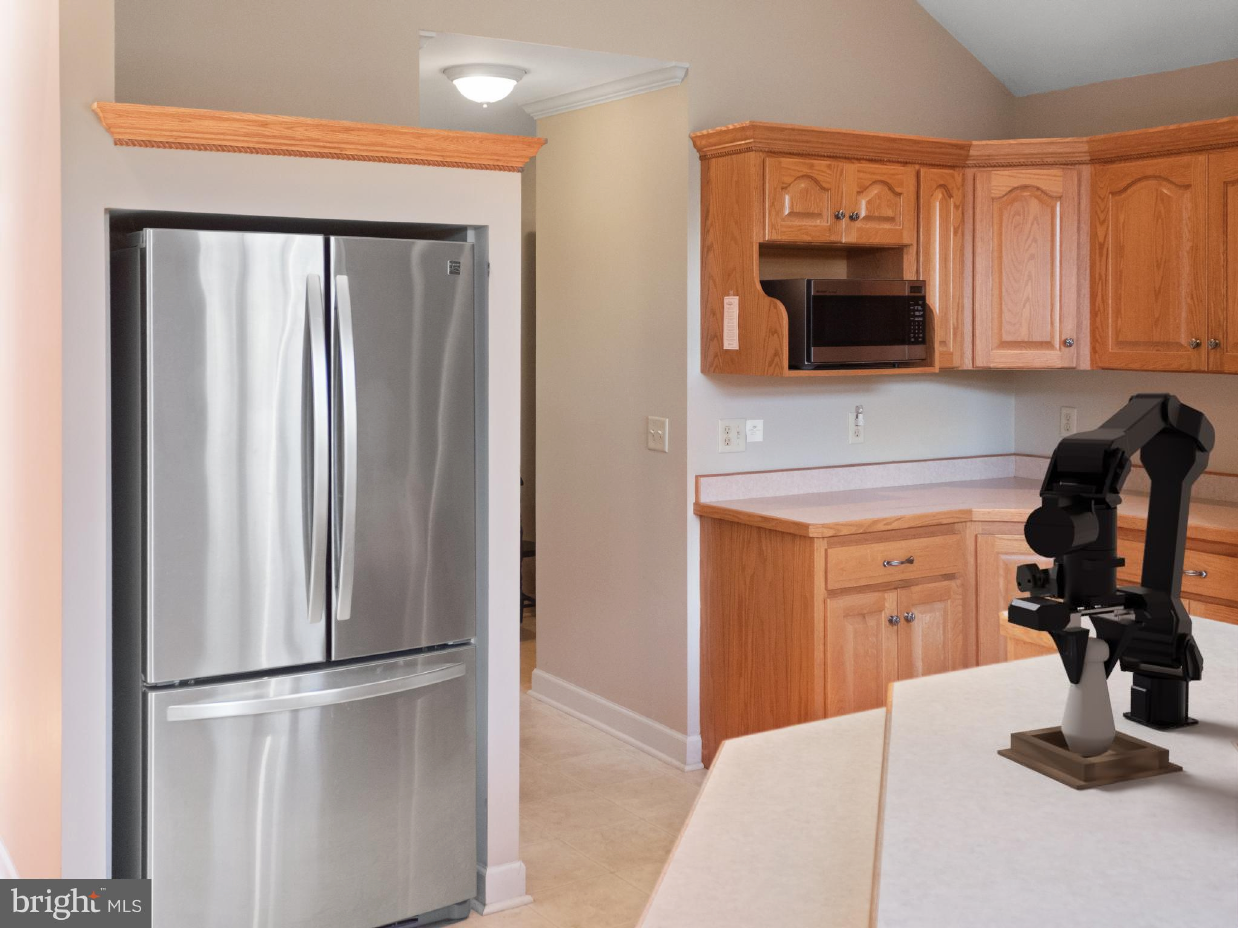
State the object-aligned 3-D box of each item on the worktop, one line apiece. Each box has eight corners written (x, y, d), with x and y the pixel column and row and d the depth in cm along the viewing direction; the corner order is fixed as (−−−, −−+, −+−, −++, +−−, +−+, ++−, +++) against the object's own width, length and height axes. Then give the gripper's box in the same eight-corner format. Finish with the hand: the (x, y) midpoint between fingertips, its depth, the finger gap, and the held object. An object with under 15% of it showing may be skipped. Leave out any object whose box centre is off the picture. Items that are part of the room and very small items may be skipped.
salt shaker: (1120, 759, 129) (1121, 645, 128) (1066, 756, 131) (1066, 644, 130) (1108, 742, 135) (1109, 633, 134) (1057, 740, 136) (1057, 632, 135)
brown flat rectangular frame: (1097, 737, 142) (1097, 718, 141) (1182, 770, 129) (1183, 749, 129) (997, 753, 136) (997, 733, 136) (1076, 789, 124) (1076, 767, 124)
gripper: (1101, 533, 142) (1100, 657, 143) (976, 544, 135) (976, 674, 137) (1174, 544, 131) (1172, 678, 133) (1042, 557, 125) (1041, 697, 126)
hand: (1088, 681), depth 132 cm, fingers closed on salt shaker, 4 cm apart
